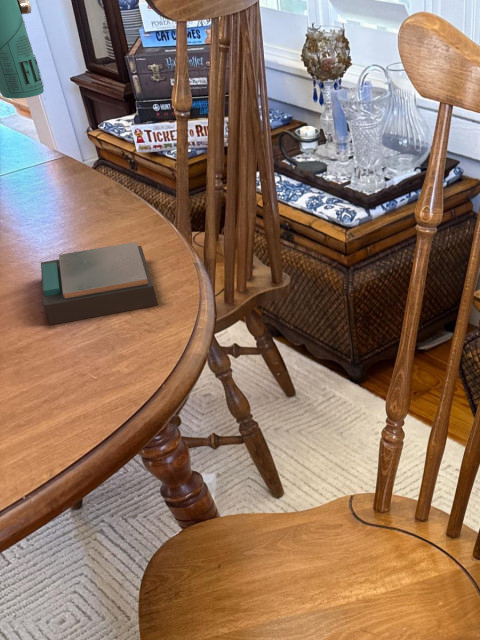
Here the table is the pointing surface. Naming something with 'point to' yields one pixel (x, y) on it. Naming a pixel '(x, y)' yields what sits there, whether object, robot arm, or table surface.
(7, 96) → the beverage bottle
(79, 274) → the kitchen scale
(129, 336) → the table surface
